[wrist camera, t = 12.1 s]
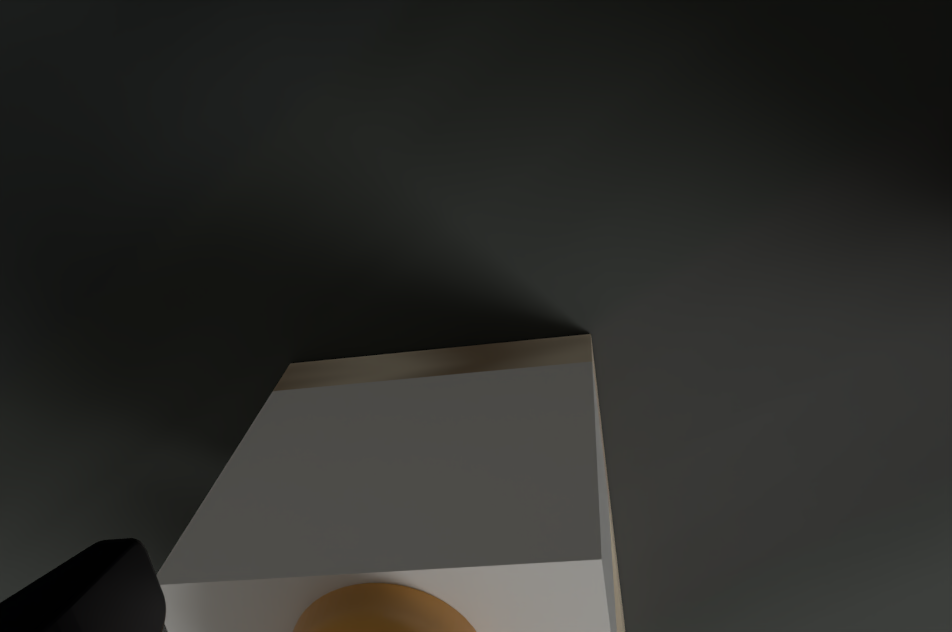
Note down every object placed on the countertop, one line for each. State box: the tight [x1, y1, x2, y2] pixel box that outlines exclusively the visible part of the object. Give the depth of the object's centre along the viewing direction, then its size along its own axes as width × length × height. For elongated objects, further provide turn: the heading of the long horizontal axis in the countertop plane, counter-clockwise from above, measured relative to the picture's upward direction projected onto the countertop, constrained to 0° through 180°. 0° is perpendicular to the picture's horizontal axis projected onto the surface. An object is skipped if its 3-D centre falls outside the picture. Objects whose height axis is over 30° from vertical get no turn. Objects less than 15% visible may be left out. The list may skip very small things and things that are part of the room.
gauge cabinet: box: [156, 361, 617, 632], centre depth 19 cm, size 8×5×7 cm, turn 99°
